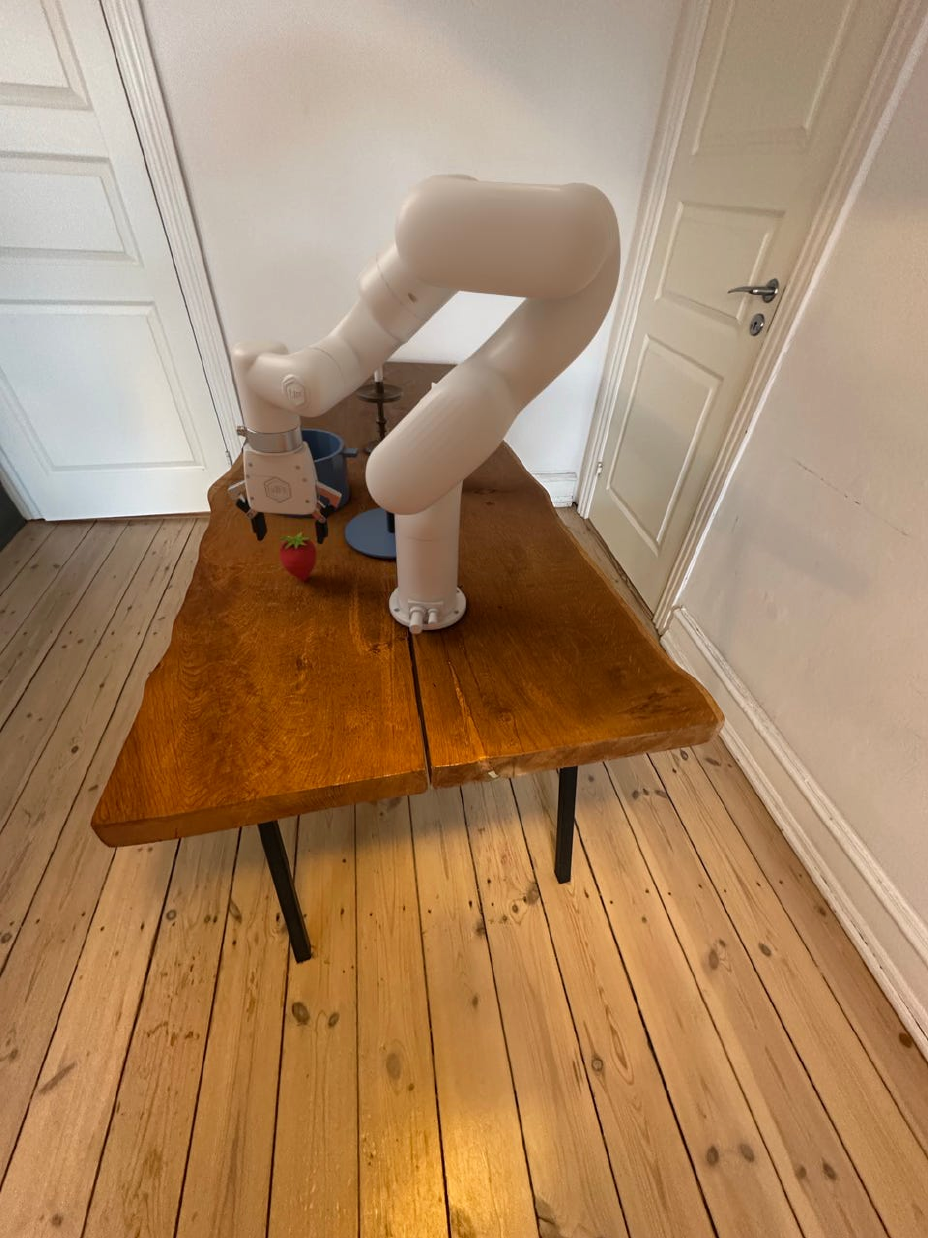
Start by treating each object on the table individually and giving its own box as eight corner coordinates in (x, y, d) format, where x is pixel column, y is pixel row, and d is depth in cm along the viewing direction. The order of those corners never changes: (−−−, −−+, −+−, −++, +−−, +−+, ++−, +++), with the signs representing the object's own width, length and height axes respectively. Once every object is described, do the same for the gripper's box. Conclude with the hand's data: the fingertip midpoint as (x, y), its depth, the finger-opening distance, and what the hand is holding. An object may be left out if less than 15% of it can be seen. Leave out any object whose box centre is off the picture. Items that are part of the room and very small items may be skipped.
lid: (439, 563, 100) (439, 529, 96) (337, 559, 100) (332, 525, 96) (442, 512, 115) (443, 481, 110) (354, 509, 114) (350, 477, 110)
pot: (354, 519, 111) (349, 466, 104) (241, 515, 111) (227, 461, 103) (367, 480, 125) (363, 430, 117) (265, 476, 124) (255, 426, 117)
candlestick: (393, 462, 133) (385, 297, 110) (353, 454, 135) (337, 291, 113) (411, 445, 141) (407, 288, 118) (373, 438, 143) (362, 283, 121)
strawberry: (281, 593, 92) (270, 542, 85) (289, 567, 98) (279, 518, 91) (317, 593, 92) (308, 542, 86) (323, 567, 98) (315, 518, 92)
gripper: (204, 443, 75) (231, 547, 87) (330, 450, 76) (341, 553, 87) (223, 422, 81) (246, 523, 92) (340, 429, 82) (349, 529, 93)
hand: (292, 538), depth 90 cm, fingers open, 9 cm apart
